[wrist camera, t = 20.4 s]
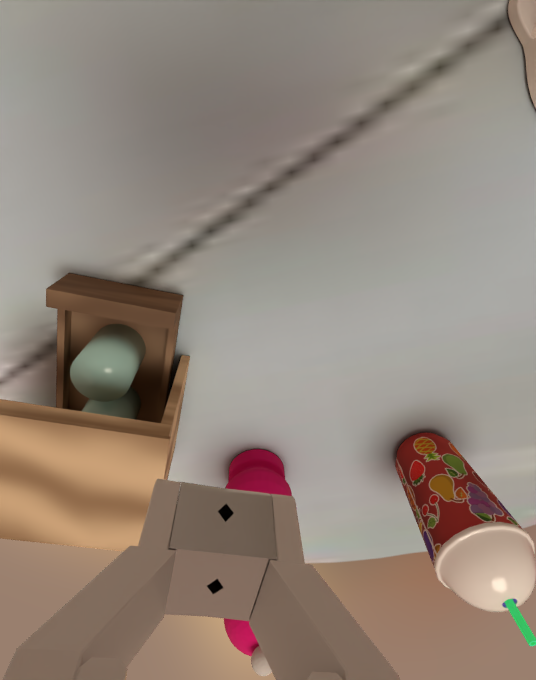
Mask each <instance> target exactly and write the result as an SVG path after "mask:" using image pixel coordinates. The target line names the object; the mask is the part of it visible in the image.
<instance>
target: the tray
mask: <svg viewBox="0 0 536 680" xmlns="http://www.w3.org/2000/svg"><path fill="white" fill-rule="evenodd" d="M182 300H183V295H178V294H173V293H168V292H163V291H158V290H153V289H148V288H143V287H138V286H132V285H127V284H122V283H117V282H112V281H107V280H102V279H97V278H92V277H87V276H81V275H76V274H71V273H68V274H67V275H66V276H64V277H63V278H61V279H60V280H58V281H57V282H55V283H54V284H52V285H51V286H50V287H48V288H47V289H46V307H51V308H57V309H58V318H57V381H56V408H62V409H68V410H75V411H82V410H83V408H84V406H85V405H86V403H87V401H88V400H89V398H87V397H86V396H84V395H83V394H81V393H80V392H79V391H78V390H77V389H76V388H75V386H74V385H73V383H72V380H71V377H70V368H71V365H72V363H73V361H74V360H75V359H76V357H77V356H78V355H79V354H80V352H81V351H82V350H83V349H84V348H85V346H86V345H87V344H88V343H89V342H90V340H91V339H92V338H93V337H94V335H95V334H96V333H97V332H98V331H99V330H100V329H101V328H102V327H104V326H107V325H110V324H123V325H126V326H129V327H131V328H133V329H134V330H136V331H137V332H138V333H139V334H140V335H141V337H142V338H143V340H144V343H145V346H146V353H145V357H144V359H143V361H142V363H141V365H140V367H139V369H138V371H137V373H136V375H135V377H134V379H133V381H132V383H131V385H130V387H132V388H133V389H134V390H135V391H136V392H137V393H138V395H139V397H140V400H141V408H140V411H139V413H138V416H137V419H136V420H141V421H148V422H155V423H161V421H162V418H163V415H164V411H165V408H166V405H167V401H168V394H169V388H170V381H171V374H172V367H173V361H174V354H175V347H176V341H177V334H178V327H179V321H180V314H181V307H182Z"/></svg>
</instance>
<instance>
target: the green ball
mask: <svg viewBox="0 0 536 680" xmlns="http://www.w3.org/2000/svg"><path fill="white" fill-rule="evenodd" d="M145 353H146V346H145V343H144V340H143V338H142V337H141V335H140V334H139V333H138V332H137V331H136V330H134V329H133V328H131V327H129V326H126V325H123V324H110V325H107V326H104V327H102V328H101V329H100V330H99V331H98V332H97V333H96V334H95V335H94V337H93V338H92V339H91V340H90V342H89V343H88V344H87V345H86V346H85V348H84V349H83V350H82V351H81V352H80V354H79V355H78V356H77V357H76V359H75V360H74V361H73V363H72V365H71V368H70V377H71V380H72V383H73V385H74V386H75V388H76V389H77V390H78V391H79V392H80V393H81V394H83V395H84V396H86V397H87V398H90V399H92V400H95V401H101V402H109V401H114V400H117V399H119V398H121V397H122V396H123V395H124V394H126V392H127V391H128V389H129V387H130V385H131V383H132V381H133V379H134V377H135V375H136V373H137V371H138V369H139V367H140V365H141V363H142V361H143V359H144V357H145Z"/></svg>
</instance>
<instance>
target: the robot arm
mask: <svg viewBox="0 0 536 680" xmlns="http://www.w3.org/2000/svg"><path fill="white" fill-rule="evenodd" d="M508 15H509V19H510V22H511V24H512V27H513V29H514V31H515V33H516V35H517V36H518V38H519V40H520V42H521V43H522V45H523V48H524V52H525V59H526V71H527V81H528V87H529V91H530V95H531V98H532V101H533V103H534V106H535V108H536V0H510V1H509V5H508ZM180 483H181V486H180ZM179 489H180V491H179ZM178 495H179V496H178ZM177 501H178V502H177ZM164 614H171V615H191V616H208V617H218V618H225V619H234V620H243V621H250V622H249V625H250V627H251V629H252V631H253V633H254V635H255V637H256V639H257V641H258V644H259V646H260V648H261V650H262V652H263V654H264V656H265V658H266V660H267V662H268V664H269V666H270V668H271V670H272V673H273V674H274V677H275V679H276V680H400V678H399V675H398V674H397V673H396V672H395V670H394V669H393V667H392V666H391V665H390V664H389V663H388V661H387V660H386V659H385V657H384V656H383V655H382V653H381V652H380V651H379V650H378V648H377V647H376V646H375V645H374V643H373V642H372V641H371V640H370V638H369V637H368V636H367V634H366V633H365V632H364V630H363V629H362V628H361V627H360V625H359V624H358V623H357V622H356V620H355V619H354V618H353V617H352V615H351V614H350V613H349V611H348V610H347V609H346V608H345V606H344V605H343V604H342V602H341V601H340V600H339V599H338V597H337V596H336V595H335V594H334V592H333V591H332V590H331V588H330V587H329V586H328V585H327V583H326V582H325V581H324V580H323V578H322V577H321V576H320V574H319V573H318V572H317V571H316V569H315V568H314V567H313V566H312V565H311V564H305V562H304V555H303V549H302V542H301V536H300V529H299V523H298V516H297V510H296V503H295V499H294V498H293V496H287V495H278V494H269V493H261V492H252V491H244V490H235V489H227V488H226V489H224V488H218V487H211V486H205V485H198V484H192V483H185V482H175V481H169V480H163V479H157V480H156V482H155V485H154V488H153V492H152V496H151V499H150V503H149V507H148V510H147V514H146V518H145V522H144V525H143V529H142V533H141V536H140V540H139V544H138V546H129V547H128V548H127V549H126V550H125V551H124V552H122V553H121V554H120V555H119V556H118V557H117V558H116V559H115V560H114V561H113V562H111V563H110V564H109V565H108V566H107V567H106V568H105V569H104V570H103V571H102V572H100V573H99V575H97V576H96V577H95V578H94V579H93V580H92V581H91V582H90V583H88V584H87V585H86V586H85V587H84V588H83V589H82V590H81V591H80V592H79V593H77V595H75V596H74V597H73V598H72V599H71V600H70V601H69V602H68V603H67V604H65V605H64V606H63V607H62V608H61V609H60V610H59V611H58V612H57V613H55V614H54V615H53V616H52V617H51V618H50V619H49V620H48V621H47V622H46V623H44V624H43V625H42V626H41V627H40V628H39V629H38V630H37V631H36V632H35V633H33V634H32V635H31V636H30V637H29V638H28V639H27V640H26V641H25V642H24V643H22V644H21V645H20V646H19V647H18V648H17V649H16V652H15V654H14V656H13V658H12V660H11V663H10V665H9V667H8V669H7V671H6V673H5V675H4V678H3V680H126V676H127V666H128V665H129V664H130V662H131V661H132V660H133V658H134V657H135V656H136V654H137V653H138V651H139V650H140V649H141V647H142V646H143V645H144V643H145V642H146V641H147V639H148V638H149V637H150V635H151V634H152V633H153V631H154V629H155V628H156V627H157V625H158V624H159V623H160V621H161V620H162V619H163V618H164Z"/></svg>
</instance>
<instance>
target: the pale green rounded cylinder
mask: <svg viewBox="0 0 536 680" xmlns="http://www.w3.org/2000/svg"><path fill="white" fill-rule="evenodd" d="M140 408H141V400H140V397H139V395H138V393H137V392H136V391H135V390H134V389H133V388H132V387H129V389H128V391H127V392H126V394H124V395H123V396H122V397H121V398H119V399H117V400H114V401H109V402H101V401H95V400H92V399H90V398H89V400H88V401H87V403H86V405H85V406H84V408H83V410H82V412H88V413H95V414H102V415H108V416H115V417H121V418H128V419H135V420H136V419H137V416H138V413H139V411H140Z"/></svg>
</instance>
